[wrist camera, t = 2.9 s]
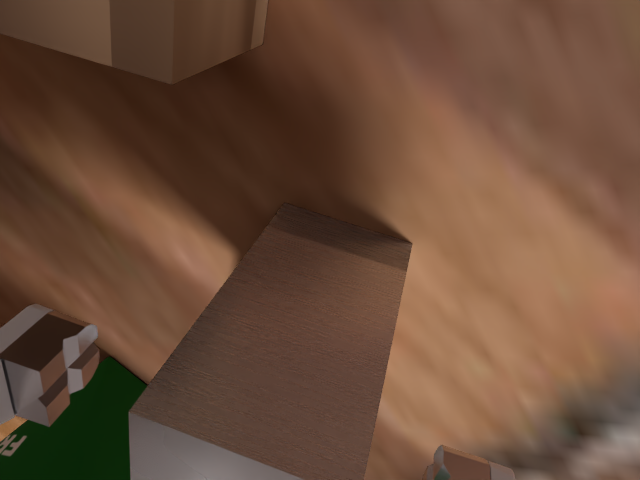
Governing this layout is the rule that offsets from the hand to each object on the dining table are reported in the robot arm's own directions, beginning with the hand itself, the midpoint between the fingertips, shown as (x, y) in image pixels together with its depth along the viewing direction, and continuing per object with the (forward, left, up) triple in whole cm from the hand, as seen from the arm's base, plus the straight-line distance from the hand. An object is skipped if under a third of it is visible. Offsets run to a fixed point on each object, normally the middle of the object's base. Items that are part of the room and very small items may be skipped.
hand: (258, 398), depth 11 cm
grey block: (0, +2, -6) cm, 6 cm away
